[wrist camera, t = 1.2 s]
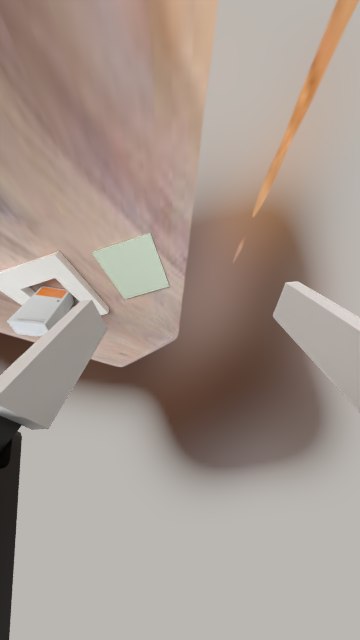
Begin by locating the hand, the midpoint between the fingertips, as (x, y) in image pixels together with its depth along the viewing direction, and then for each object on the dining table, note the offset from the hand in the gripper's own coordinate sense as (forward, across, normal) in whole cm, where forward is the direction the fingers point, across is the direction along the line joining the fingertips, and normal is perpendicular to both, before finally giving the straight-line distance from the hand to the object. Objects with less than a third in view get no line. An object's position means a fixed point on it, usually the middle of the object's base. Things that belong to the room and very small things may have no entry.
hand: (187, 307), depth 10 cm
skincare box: (+24, -32, -8) cm, 41 cm away
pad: (+26, -11, -5) cm, 29 cm away
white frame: (+24, -32, -8) cm, 41 cm away
